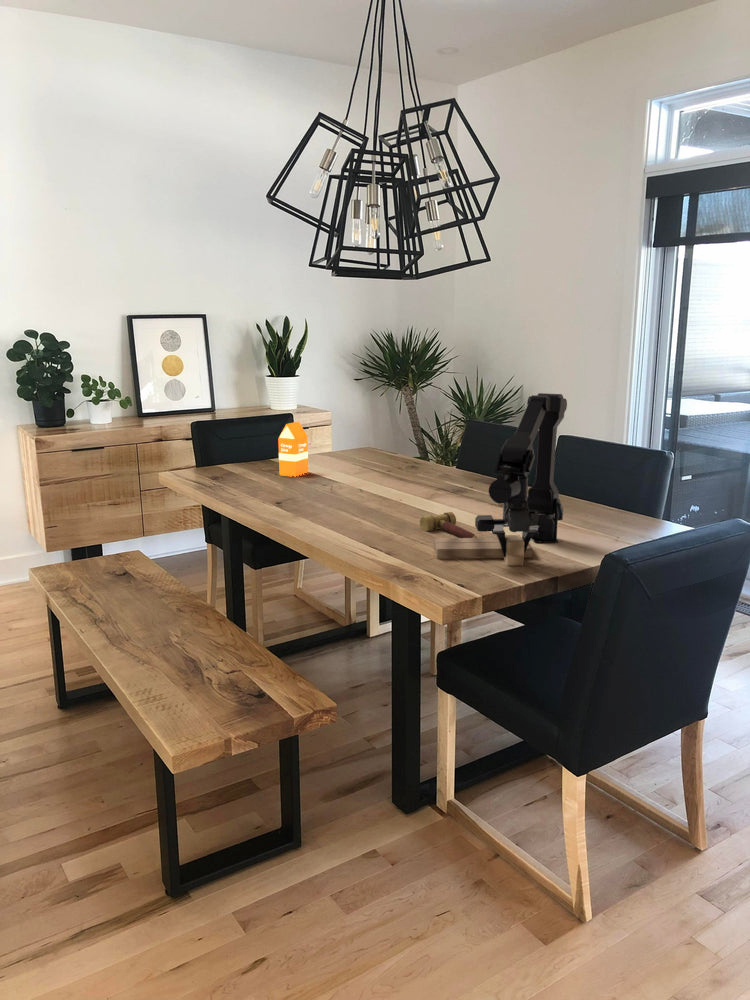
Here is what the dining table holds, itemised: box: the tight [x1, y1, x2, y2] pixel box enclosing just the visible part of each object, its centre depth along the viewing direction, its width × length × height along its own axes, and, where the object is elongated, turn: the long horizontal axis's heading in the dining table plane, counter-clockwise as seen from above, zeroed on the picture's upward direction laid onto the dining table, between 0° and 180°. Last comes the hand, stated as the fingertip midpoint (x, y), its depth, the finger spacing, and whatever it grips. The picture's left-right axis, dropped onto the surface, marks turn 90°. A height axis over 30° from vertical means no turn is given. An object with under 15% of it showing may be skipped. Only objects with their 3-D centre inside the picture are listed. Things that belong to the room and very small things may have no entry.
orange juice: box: [278, 421, 309, 478], centre depth 312 cm, size 8×9×20 cm
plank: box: [433, 537, 533, 560], centre depth 210 cm, size 24×10×2 cm, turn 90°
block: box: [502, 534, 525, 566], centre depth 204 cm, size 4×12×6 cm, turn 1°
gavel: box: [419, 511, 478, 538], centre depth 227 cm, size 21×5×10 cm
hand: (513, 556), depth 201 cm, fingers closed on block, 4 cm apart
